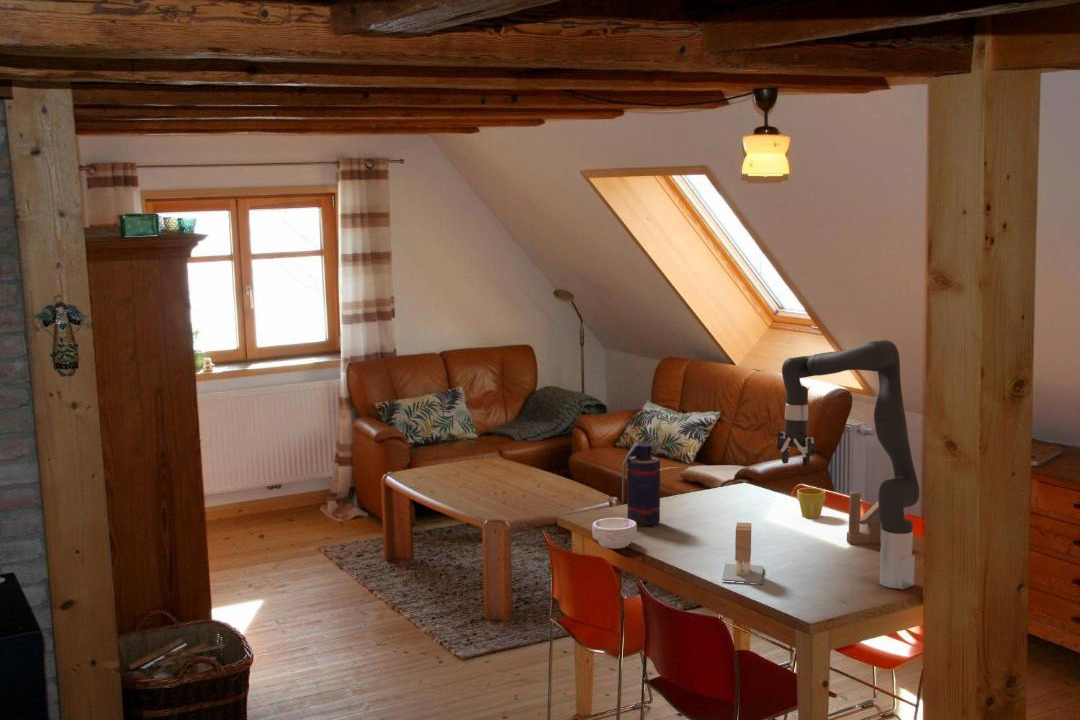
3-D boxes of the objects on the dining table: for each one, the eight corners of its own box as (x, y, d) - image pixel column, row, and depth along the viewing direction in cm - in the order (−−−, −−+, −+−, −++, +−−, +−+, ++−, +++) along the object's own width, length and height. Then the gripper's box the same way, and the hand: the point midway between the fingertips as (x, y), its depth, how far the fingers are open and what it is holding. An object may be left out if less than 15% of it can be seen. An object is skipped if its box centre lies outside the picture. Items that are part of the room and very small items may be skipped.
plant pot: (791, 516, 433) (791, 490, 431) (807, 511, 440) (807, 485, 438) (814, 521, 425) (815, 495, 424) (830, 516, 432) (831, 490, 431)
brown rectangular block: (736, 552, 369) (737, 522, 367) (750, 553, 368) (751, 523, 366) (735, 560, 361) (735, 529, 360) (749, 561, 360) (750, 530, 359)
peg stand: (725, 566, 374) (725, 548, 374) (763, 568, 372) (763, 550, 371) (722, 582, 359) (722, 563, 358) (761, 584, 356) (761, 566, 355)
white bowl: (585, 541, 403) (585, 519, 402) (625, 536, 408) (625, 515, 407) (603, 554, 389) (603, 531, 388) (644, 548, 394) (644, 526, 393)
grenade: (658, 519, 430) (658, 439, 426) (661, 528, 419) (661, 446, 415) (621, 519, 431) (621, 440, 427) (622, 528, 419) (622, 446, 415)
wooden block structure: (880, 543, 397) (882, 492, 395) (850, 545, 396) (851, 493, 394) (876, 540, 401) (878, 490, 398) (846, 541, 400) (847, 491, 397)
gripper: (772, 415, 384) (771, 463, 386) (806, 421, 373) (804, 471, 375) (787, 412, 389) (786, 460, 391) (821, 419, 378) (820, 467, 380)
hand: (795, 465), depth 383 cm, fingers open, 8 cm apart
